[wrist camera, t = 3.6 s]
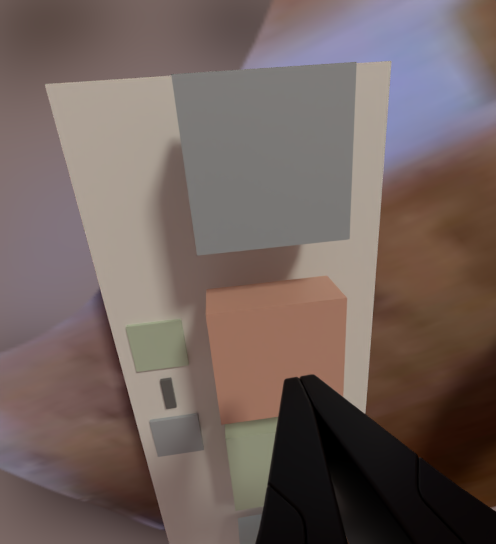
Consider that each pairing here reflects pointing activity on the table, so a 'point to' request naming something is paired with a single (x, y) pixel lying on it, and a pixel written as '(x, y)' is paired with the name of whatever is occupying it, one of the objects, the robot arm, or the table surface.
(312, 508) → the robot arm
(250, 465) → the key sage
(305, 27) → the table surface
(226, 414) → the key terracotta
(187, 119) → the key slate
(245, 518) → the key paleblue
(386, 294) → the table surface
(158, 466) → the keypad base
